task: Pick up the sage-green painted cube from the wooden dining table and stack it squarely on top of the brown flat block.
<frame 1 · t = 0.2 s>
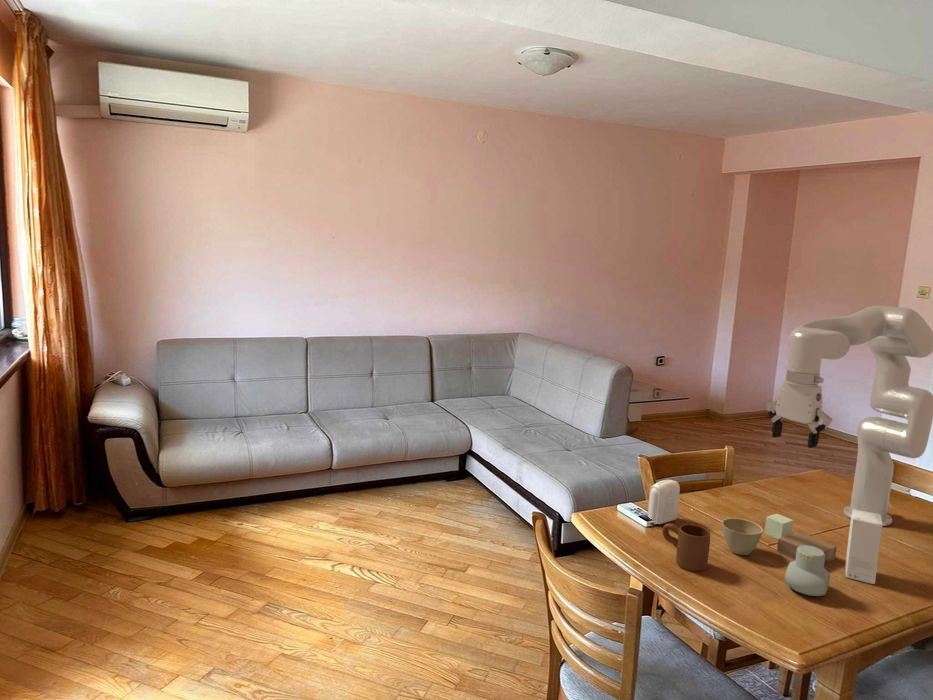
hand: (793, 441, 163), 30 cm above the table, tool pointing down, fingers open, 9 cm apart
mug: (682, 562, 159), on the table
brown flat block: (805, 556, 165), on the table
flower pot: (739, 551, 166), on the table
photo printer: (661, 521, 183), on the table
sage cube: (777, 535, 177), on the table
skincare box: (858, 575, 156), on the table
air freshener: (805, 590, 148), on the table
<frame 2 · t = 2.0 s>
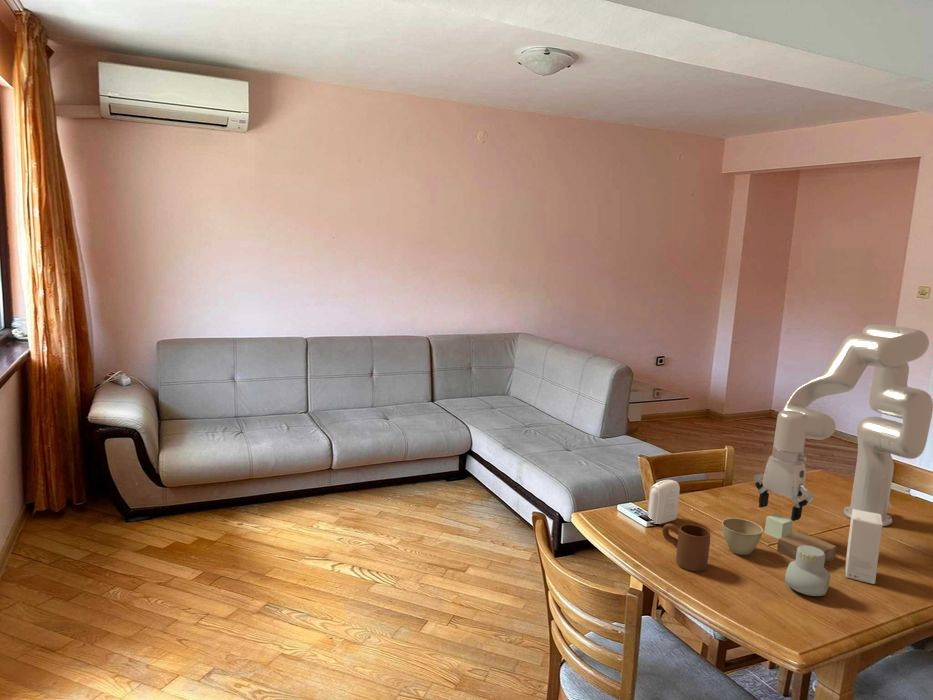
hand: (778, 513, 175), 7 cm above the table, tool pointing down, fingers open, 9 cm apart
nothing on the table moved.
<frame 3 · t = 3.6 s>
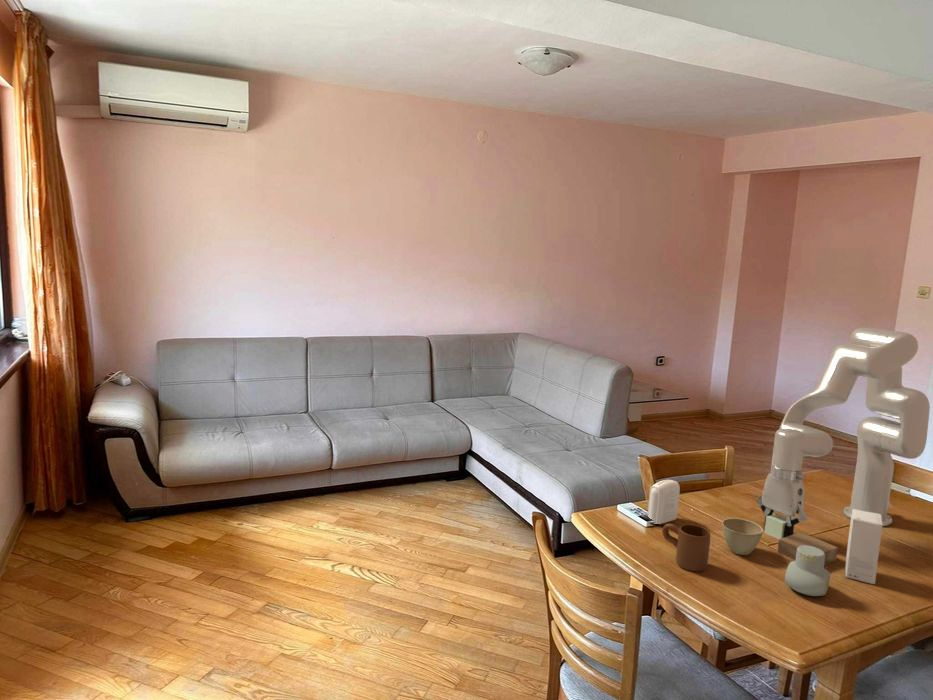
hand: (777, 533, 177), 0 cm above the table, tool pointing down, fingers closed on sage cube, 5 cm apart
sage cube: (777, 534, 177), on the table, touching gripper
everything else where it was.
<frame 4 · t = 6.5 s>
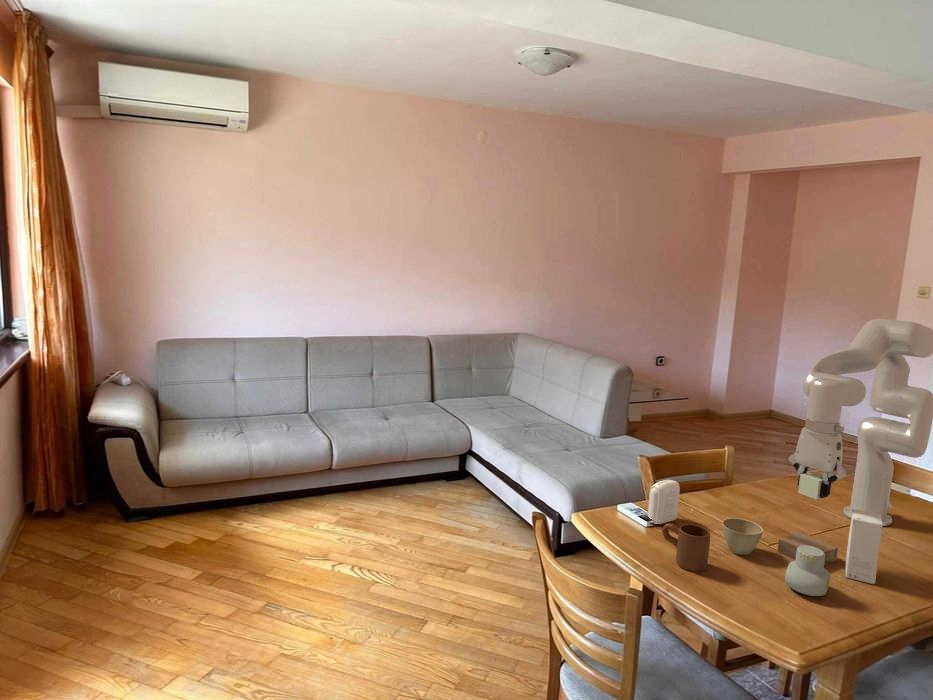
hand: (813, 492, 162), 17 cm above the table, tool pointing down, fingers closed on sage cube, 5 cm apart
sage cube: (812, 494, 162), point 17 cm above the table, touching gripper
everything else where it was.
when the fingers open (5 cm above the table, at t = 9.6 s): sage cube drops 1 cm, point 4 cm above the table.
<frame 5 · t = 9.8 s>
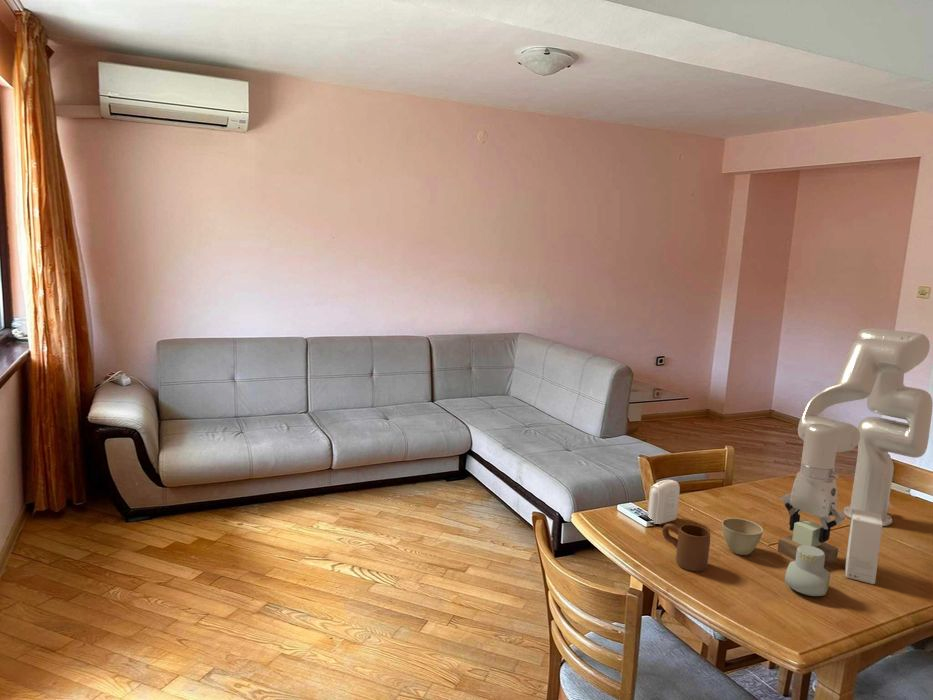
hand: (808, 534, 164), 6 cm above the table, tool pointing down, fingers open, 7 cm apart
sage cube: (806, 542, 165), point 4 cm above the table
everything else where it was.
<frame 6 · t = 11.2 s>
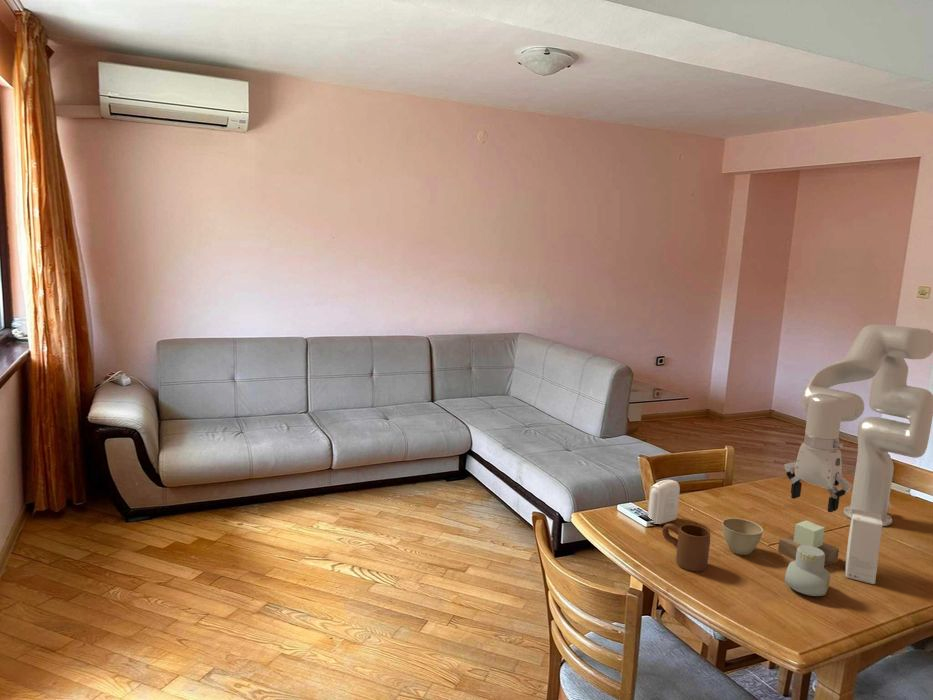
hand: (813, 504, 163), 14 cm above the table, tool pointing down, fingers open, 9 cm apart
brown flat block: (806, 558, 164), on the table, touching sage cube
sage cube: (807, 543, 164), point 4 cm above the table, touching brown flat block
everything else where it was.
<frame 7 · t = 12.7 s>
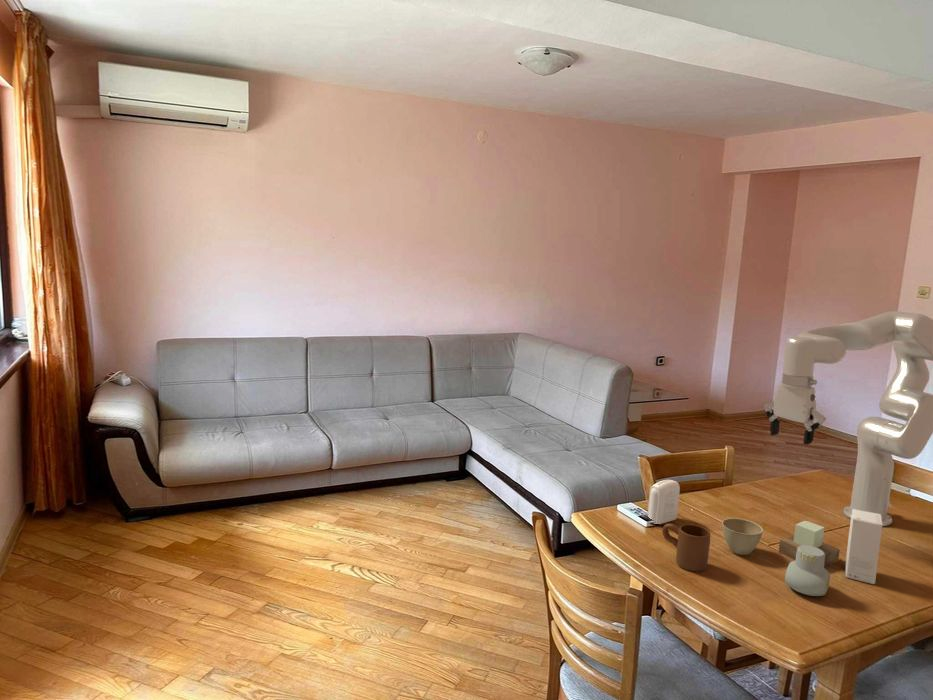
hand: (790, 439, 177), 27 cm above the table, tool pointing down, fingers open, 9 cm apart
nothing on the table moved.
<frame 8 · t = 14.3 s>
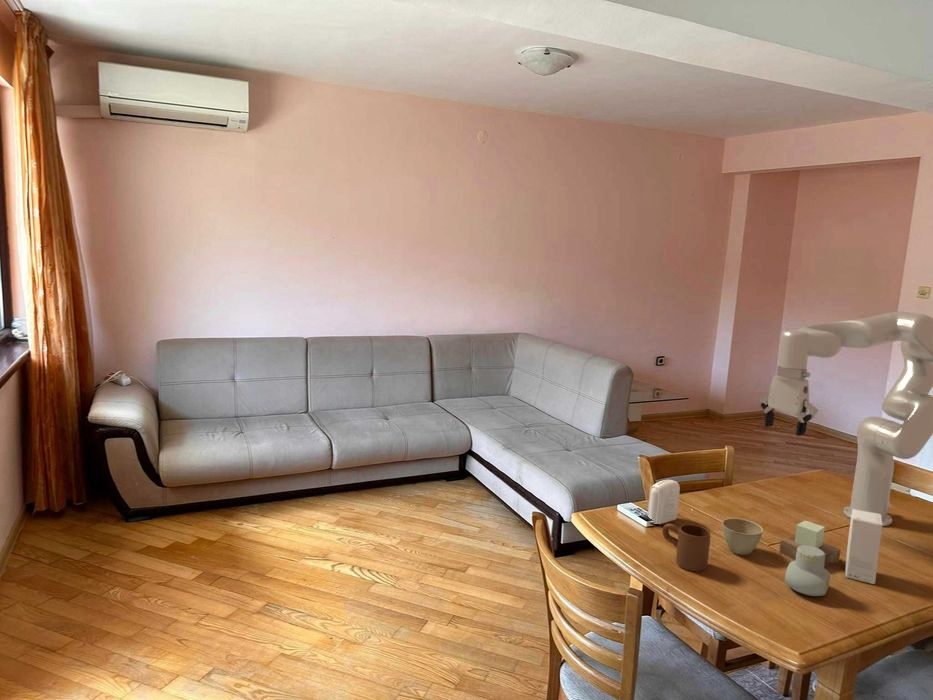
hand: (784, 430, 181), 28 cm above the table, tool pointing down, fingers open, 9 cm apart
brown flat block: (808, 558, 164), on the table
sage cube: (808, 543, 164), point 4 cm above the table
everything else where it was.
at the end: sage cube 0.6 cm off-centre on the brown flat block, point 4.0 cm above the brown flat block's base; sage cube tilted 0°; sage cube touching brown flat block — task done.
